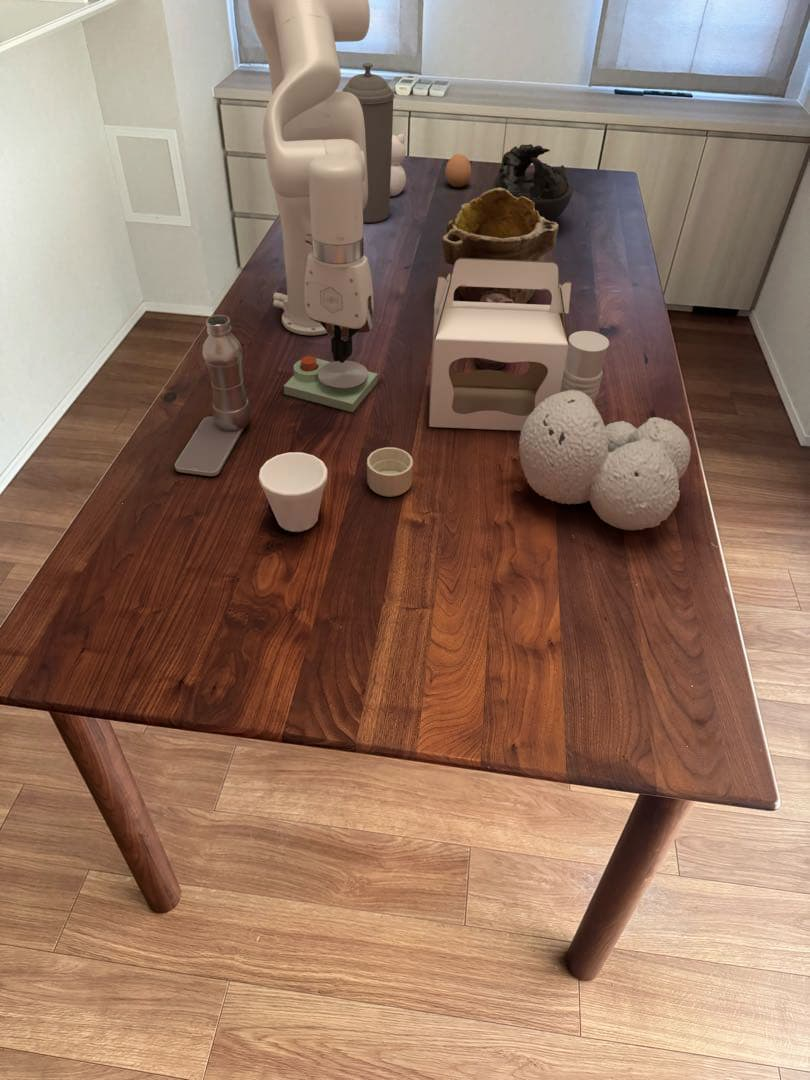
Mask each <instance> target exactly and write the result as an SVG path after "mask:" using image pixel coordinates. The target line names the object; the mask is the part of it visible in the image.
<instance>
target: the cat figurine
mask: <svg viewBox="0 0 810 1080" xmlns="http://www.w3.org/2000/svg"><path fill="white" fill-rule="evenodd" d="M404 143H405V135H404V133H399V134H398V135H395V134H392V156H391V181H390V197H396V196H398V195H399V194H401V193H402V191H403V190H404V188H405V187H406V183H407V176H406V171H405V169H404V167H403V165H401V164H402V163H403V162H404V161H405V158H406V155H407V151H406V146H405V144H404Z"/></svg>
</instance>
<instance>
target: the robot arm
mask: <svg viewBox="0 0 810 1080" xmlns="http://www.w3.org/2000/svg"><path fill="white" fill-rule="evenodd" d="M247 2H248V9H249V13H250V18H251V22H252V24H253V28H254V31H255V33H256V36H257V37H258V41H259V43H260V45H261V47H262V49H263V51H264V54H265V58H266V60H267V63H268V70H269V78H270V87H271V96H270V99H269V101H268V103H267V106H266V108H265V112H264V115H263V122H262V136H263V137H262V138H263V145H264V152H265V153H264V154H265V160H266V166H267V172H268V178H269V181H270V184H271V186H272V188H273V191H274V192H273V193H274V198H275V201H276V207H277V210H278V215H279V220H280V226H281V235H282V246H283V247H282V248H283V257H284V268H285V269H284V271H285V283H286V293H287V294H284V293H281V292H277V291H276V292H274V293H273V297H272V300H273V302H272V306H273V307H275V308H278V309H279V308H280V309H282V310H283V313H282V315H281V323H282V325H283V327H284V328H285V330H287V331H289V332H291V333H293V334H297V335H302V336H321V335H327V337H328V338H330V347H331V348H330V349H331V353H332V357H333V359H332V361H333V362H334V361H336V362H337V361H339V362H341V363H344V361H347V360H348V359H349V357H351V356H352V354H353V336H354V335H356V334H357V333H362V334H365V333H370V332H371V331H372V330H373V328H374V324H373V319H372V317H373V316H374V311H375V310H374V308H375V307H374V305H375V304H374V303H375V302H374V288H373V287H374V286H373V279H372V272H371V267H370V263H369V260H368V256H366V255H365V253H364V250H365V249H364V247H365V246H364V245H365V244H364V222H363V210H364V208H365V207H366V205H367V200H368V177H367V158H366V140H365V125H364V116H363V111H362V107H361V104H360V102H359V100H358V98H357V97H356V96H355V95H353V94H352V93H349V92H342V91H338V88H339V86H340V84H341V78H342V77H341V75H342V74H341V68H340V62H339V56H338V52H337V46H336V43H347V42H349V43H351V42H353V43H354V42H361V41H362V40H364V39H365V38H366V37H367V35H368V32H369V29H370V22H371V9H370V3H369V0H247Z"/></svg>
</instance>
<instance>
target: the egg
mask: <svg viewBox="0 0 810 1080" xmlns="http://www.w3.org/2000/svg"><path fill="white" fill-rule="evenodd" d="M472 172H473V171H472V165H471V163H470V160H469V159H468V157H466V156H465V155H463V154H462V153H456V154H454V155H453V156H452V157H450V159H449V160H448V162H447V163H446V166H445V169H444V175H445V179H446V181H447V182H448V184H449V185H450V186H452V187H454V188H462V187H464V186H465V185H467V184H468V183H469V181H470V180H471V177H472Z"/></svg>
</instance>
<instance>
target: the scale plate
mask: <svg viewBox="0 0 810 1080" xmlns="http://www.w3.org/2000/svg"><path fill="white" fill-rule="evenodd" d="M329 362H330V363H328V364H326V365H324V366H322V367H321V368H320V370H319V371H318V378H319V380H320V382H322V383H323V384H324V385H326V386H328V387H331V388H336V389H349V388H354V387H357V386H360V385H361V384H363V383H364V382H365V381H366V380H367V378H368V372H369V371H368V369H367V367H365V366H364V365H363V364H361V363H359V362H356V361H352V360H345V361H344V363H341V362H339V361H337V362H336V361H334V360H333V361H329Z"/></svg>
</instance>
